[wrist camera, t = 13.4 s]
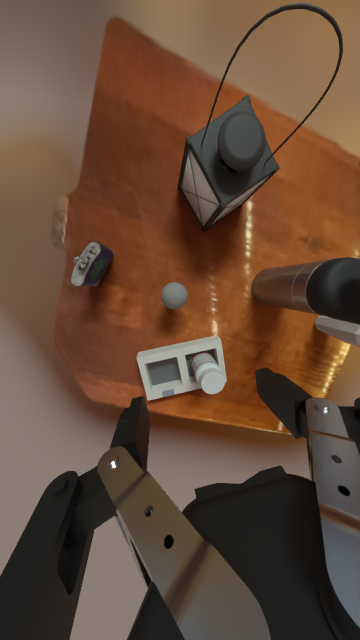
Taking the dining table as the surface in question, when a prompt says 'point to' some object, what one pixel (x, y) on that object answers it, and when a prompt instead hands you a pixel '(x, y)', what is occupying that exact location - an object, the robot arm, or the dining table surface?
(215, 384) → the pill bottle
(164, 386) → the socket block
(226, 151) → the lantern
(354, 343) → the faceted bottle
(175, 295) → the light bulb
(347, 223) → the dining table surface
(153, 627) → the robot arm
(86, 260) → the flask
